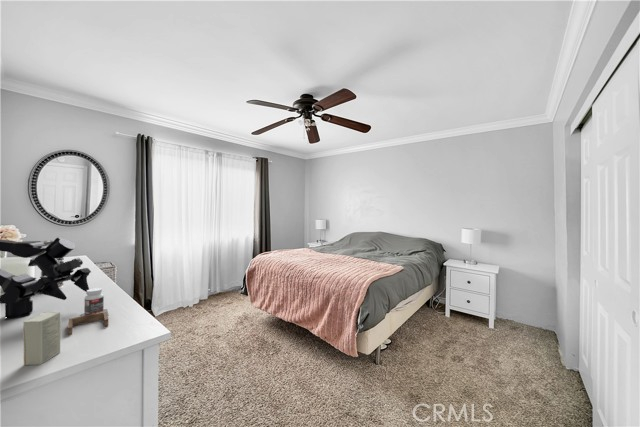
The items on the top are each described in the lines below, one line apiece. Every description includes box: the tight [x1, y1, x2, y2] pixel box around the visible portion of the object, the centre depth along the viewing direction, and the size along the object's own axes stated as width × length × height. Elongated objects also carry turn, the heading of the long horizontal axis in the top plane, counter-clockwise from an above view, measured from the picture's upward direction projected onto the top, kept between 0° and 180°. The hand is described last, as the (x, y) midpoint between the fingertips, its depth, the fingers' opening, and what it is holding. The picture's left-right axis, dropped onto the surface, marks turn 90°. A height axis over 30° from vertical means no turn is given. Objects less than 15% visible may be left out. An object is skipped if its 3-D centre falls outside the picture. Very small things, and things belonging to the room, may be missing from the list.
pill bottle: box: [83, 287, 105, 315], centre depth 102 cm, size 6×6×10 cm
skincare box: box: [23, 311, 61, 366], centre depth 73 cm, size 6×4×12 cm
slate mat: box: [80, 308, 109, 317], centre depth 102 cm, size 8×8×1 cm
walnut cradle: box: [67, 310, 109, 336], centre depth 93 cm, size 10×10×2 cm
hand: (77, 295), depth 102 cm, fingers open, 9 cm apart
